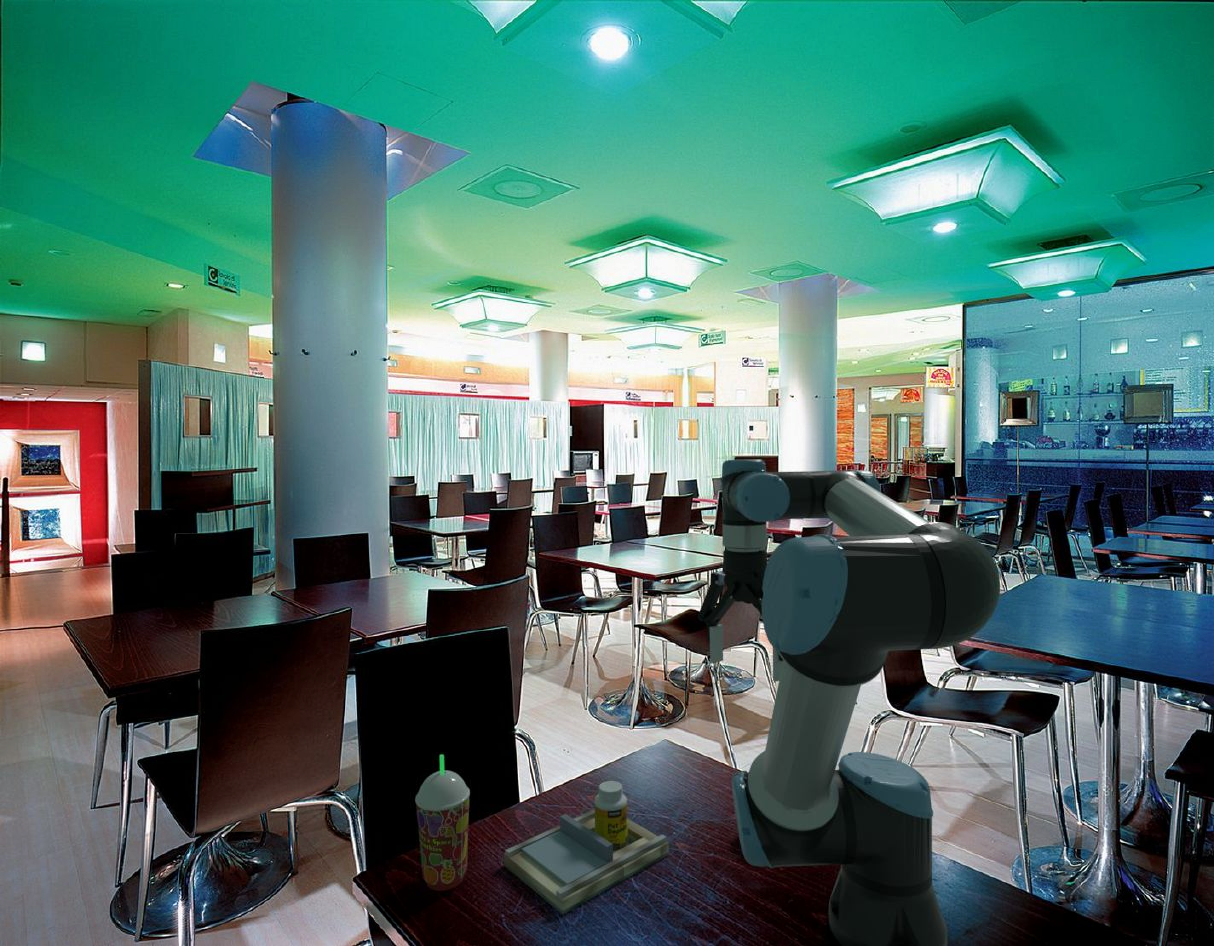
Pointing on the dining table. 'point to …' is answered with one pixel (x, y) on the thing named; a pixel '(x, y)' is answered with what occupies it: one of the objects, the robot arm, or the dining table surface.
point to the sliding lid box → (625, 863)
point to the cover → (570, 851)
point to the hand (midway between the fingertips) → (746, 670)
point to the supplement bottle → (611, 814)
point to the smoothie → (443, 828)
